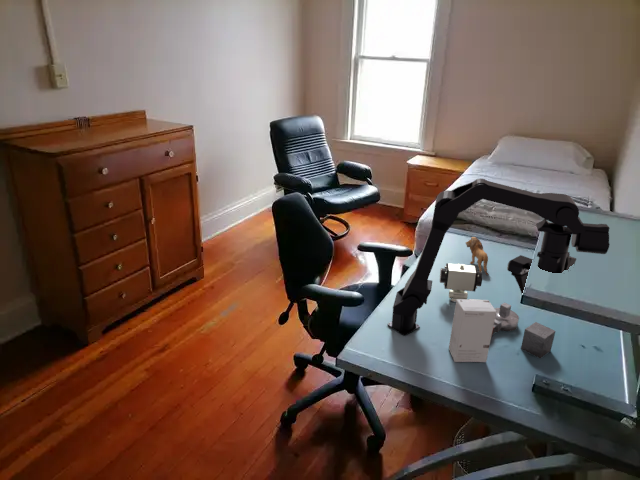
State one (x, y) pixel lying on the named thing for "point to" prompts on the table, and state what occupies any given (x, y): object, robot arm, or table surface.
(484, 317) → the skincare box
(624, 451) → the table surface
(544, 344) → the brushed metal block
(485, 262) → the lion figurine
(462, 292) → the pneumatic valve
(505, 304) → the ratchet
